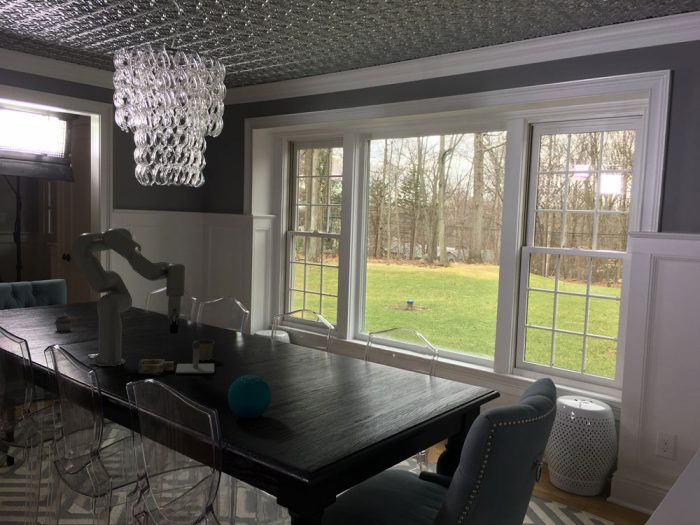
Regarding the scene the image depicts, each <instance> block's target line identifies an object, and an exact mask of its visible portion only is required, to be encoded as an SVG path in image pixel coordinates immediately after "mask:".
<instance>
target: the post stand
mask: <svg viewBox="0 0 700 525" xmlns="http://www.w3.org/2000/svg"><path fill="white" fill-rule="evenodd" d="M191 348H192V350H193V351H192V363H177V365H176V370H175V374H176V373H214V374H215V363H199V362H200V361H199V348H200V343H199V342H198V340H195V341H193V342H192V344H191Z"/></svg>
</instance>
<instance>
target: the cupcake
mask: <svg viewBox="0 0 700 525" xmlns="http://www.w3.org/2000/svg"><path fill="white" fill-rule="evenodd" d="M54 324H55V327H56V330H57V332H59V331H60V333H63V332H69V331H70V330H71V327H72V325H73V321H72V319H71V317H70V316H69V315H68V314H66V313H64V312H62V314H61V315H59V316H58V317H56V319H55V321H54Z"/></svg>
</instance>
